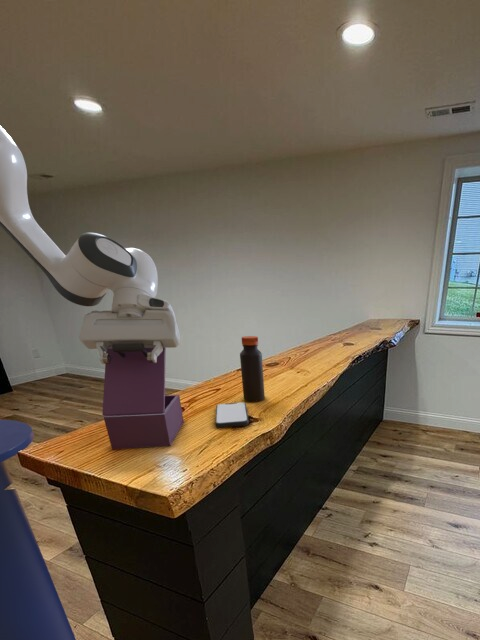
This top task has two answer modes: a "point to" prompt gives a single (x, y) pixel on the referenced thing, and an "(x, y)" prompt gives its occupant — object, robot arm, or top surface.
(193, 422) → the top surface
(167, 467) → the top surface
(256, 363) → the bottle
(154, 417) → the purple box
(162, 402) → the lid
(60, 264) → the robot arm
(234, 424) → the smartphone
